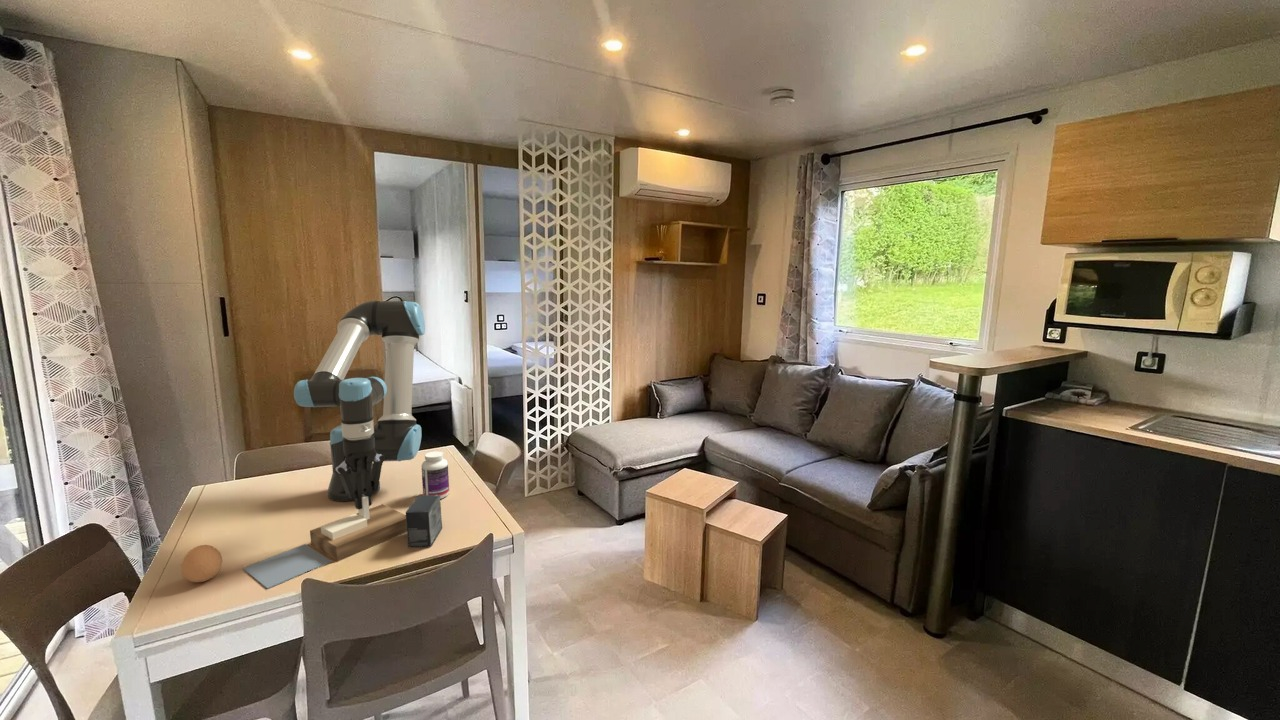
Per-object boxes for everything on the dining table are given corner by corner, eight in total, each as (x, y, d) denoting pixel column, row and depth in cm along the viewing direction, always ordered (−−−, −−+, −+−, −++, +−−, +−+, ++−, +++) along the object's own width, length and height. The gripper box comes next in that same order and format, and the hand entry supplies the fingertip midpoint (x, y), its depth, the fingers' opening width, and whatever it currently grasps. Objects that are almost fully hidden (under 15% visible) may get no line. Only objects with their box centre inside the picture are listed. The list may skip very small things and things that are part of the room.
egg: (212, 587, 119) (208, 553, 117) (175, 590, 117) (170, 556, 116) (230, 569, 126) (226, 537, 124) (195, 572, 124) (191, 539, 123)
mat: (242, 568, 126) (242, 567, 126) (305, 544, 137) (305, 543, 137) (267, 589, 118) (267, 588, 118) (331, 562, 130) (331, 560, 130)
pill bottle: (454, 493, 171) (453, 451, 169) (437, 503, 164) (435, 460, 161) (434, 489, 174) (432, 448, 172) (417, 499, 166) (415, 456, 164)
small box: (419, 528, 148) (417, 494, 146) (443, 528, 148) (441, 494, 146) (406, 548, 137) (404, 511, 135) (431, 547, 138) (429, 511, 136)
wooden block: (311, 544, 138) (309, 530, 137) (383, 516, 154) (382, 504, 153) (337, 561, 130) (336, 546, 129) (410, 530, 146) (409, 517, 146)
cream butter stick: (321, 533, 136) (320, 526, 135) (355, 520, 143) (355, 513, 143) (332, 540, 133) (332, 532, 132) (367, 526, 140) (366, 519, 140)
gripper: (340, 445, 131) (347, 531, 134) (389, 432, 141) (394, 513, 145) (325, 439, 135) (332, 523, 138) (374, 427, 145) (379, 506, 149)
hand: (364, 518), depth 142 cm, fingers closed
